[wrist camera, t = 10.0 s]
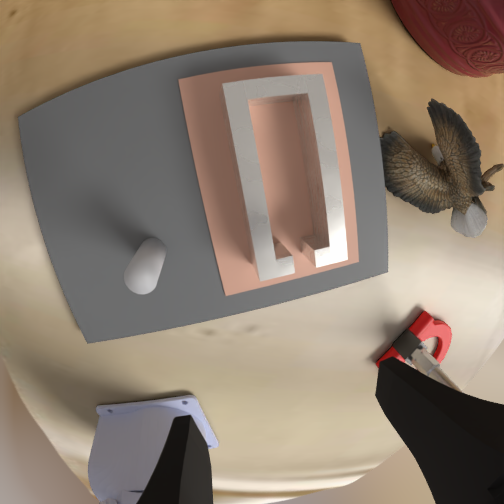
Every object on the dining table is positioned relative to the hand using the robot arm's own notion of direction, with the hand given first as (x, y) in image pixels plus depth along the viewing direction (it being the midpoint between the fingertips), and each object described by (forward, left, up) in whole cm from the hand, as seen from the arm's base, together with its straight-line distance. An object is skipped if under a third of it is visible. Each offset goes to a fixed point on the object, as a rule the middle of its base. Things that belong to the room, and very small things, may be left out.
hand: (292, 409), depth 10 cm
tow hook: (+15, -12, -11) cm, 22 cm away
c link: (+3, +7, -9) cm, 12 cm away
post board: (-1, +7, -10) cm, 13 cm away
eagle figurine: (+15, +6, -11) cm, 19 cm away
